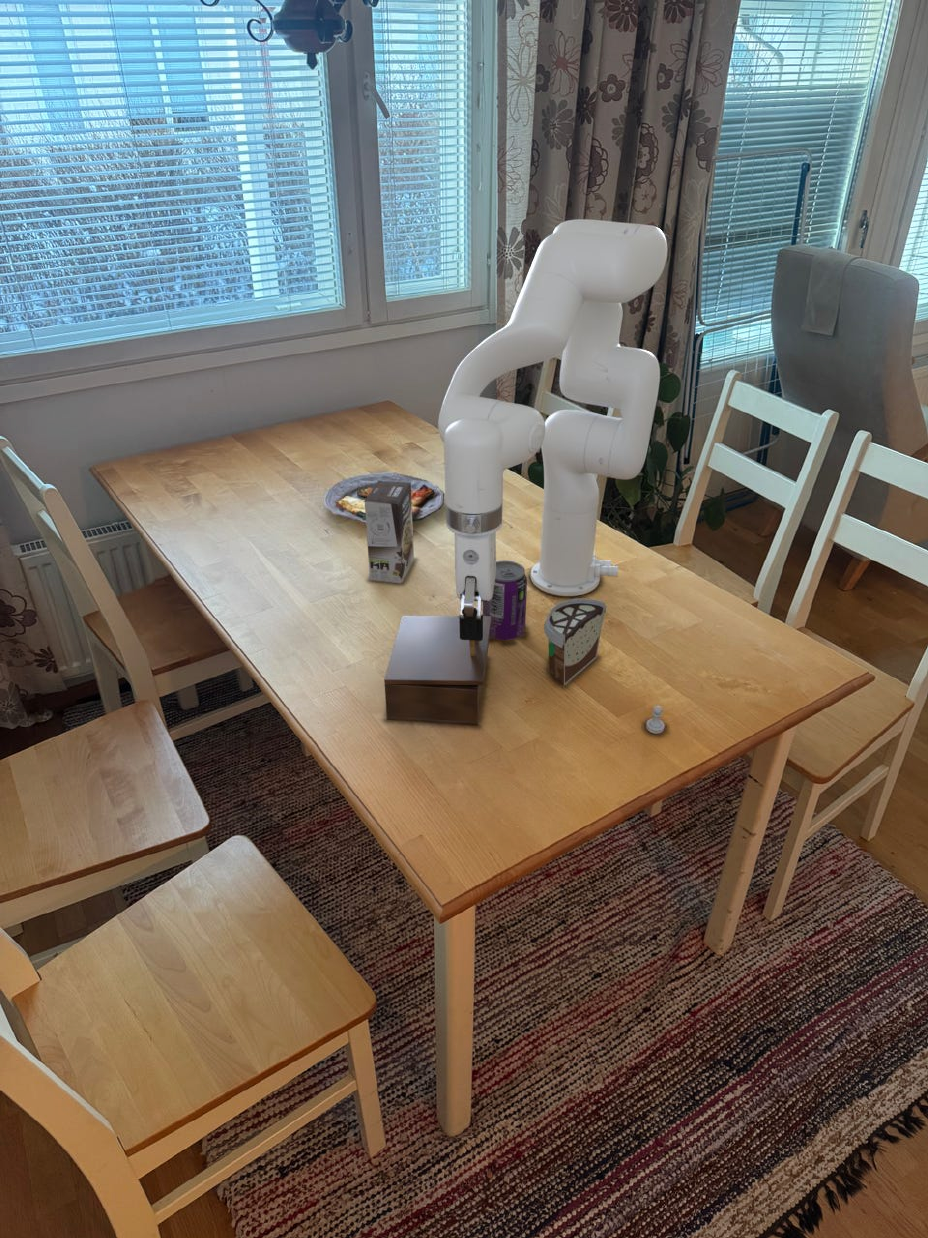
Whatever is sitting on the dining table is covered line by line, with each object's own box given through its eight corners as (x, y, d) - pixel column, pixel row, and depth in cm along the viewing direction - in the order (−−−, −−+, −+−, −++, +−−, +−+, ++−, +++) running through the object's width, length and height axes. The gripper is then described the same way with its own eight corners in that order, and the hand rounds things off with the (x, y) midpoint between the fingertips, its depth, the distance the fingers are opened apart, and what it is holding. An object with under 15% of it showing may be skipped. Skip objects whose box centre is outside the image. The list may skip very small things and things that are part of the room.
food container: (569, 639, 140) (573, 588, 135) (601, 653, 137) (607, 601, 131) (525, 675, 132) (528, 621, 127) (558, 690, 129) (562, 636, 124)
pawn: (656, 720, 124) (659, 698, 121) (667, 730, 122) (671, 709, 119) (641, 725, 123) (645, 704, 120) (653, 736, 121) (657, 714, 118)
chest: (486, 659, 136) (486, 624, 132) (477, 726, 123) (477, 690, 119) (404, 654, 137) (402, 620, 133) (386, 720, 124) (384, 684, 120)
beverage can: (531, 638, 140) (535, 576, 134) (492, 648, 138) (493, 585, 132) (514, 616, 146) (516, 555, 139) (475, 625, 144) (476, 563, 137)
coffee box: (403, 584, 155) (399, 504, 146) (368, 580, 156) (362, 500, 147) (415, 559, 162) (412, 481, 153) (382, 556, 163) (377, 478, 154)
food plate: (463, 496, 185) (463, 481, 183) (408, 543, 167) (407, 527, 165) (366, 474, 194) (365, 459, 192) (304, 515, 177) (302, 500, 175)
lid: (492, 620, 132) (490, 589, 128) (483, 685, 118) (481, 652, 115) (402, 619, 133) (399, 589, 130) (384, 684, 120) (379, 651, 117)
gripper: (497, 547, 105) (496, 657, 115) (506, 485, 119) (504, 587, 129) (437, 545, 106) (441, 654, 116) (453, 483, 120) (455, 585, 130)
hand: (474, 619), depth 123 cm, fingers open, 9 cm apart
